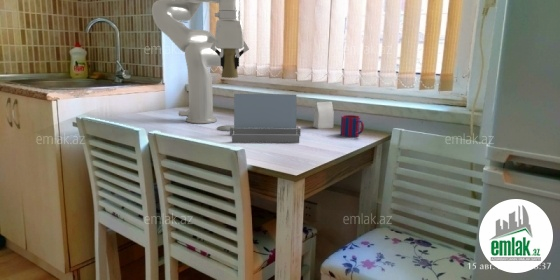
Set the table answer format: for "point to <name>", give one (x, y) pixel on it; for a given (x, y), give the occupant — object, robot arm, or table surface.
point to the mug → (351, 126)
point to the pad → (224, 128)
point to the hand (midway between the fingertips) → (229, 68)
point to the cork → (229, 64)
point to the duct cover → (264, 111)
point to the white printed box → (323, 115)
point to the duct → (265, 135)
